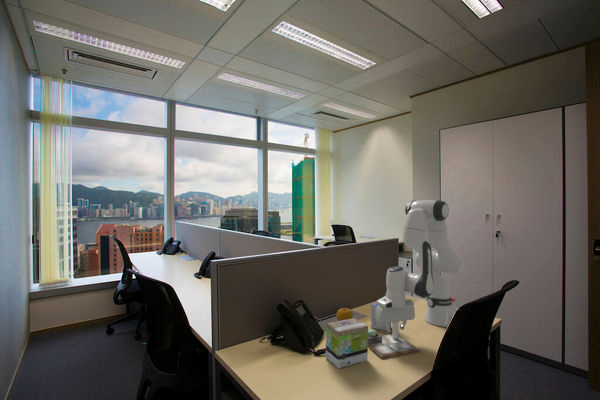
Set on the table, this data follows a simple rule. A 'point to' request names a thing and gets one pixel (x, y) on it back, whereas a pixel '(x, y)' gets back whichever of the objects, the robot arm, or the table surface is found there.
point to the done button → (371, 332)
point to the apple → (344, 314)
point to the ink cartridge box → (373, 320)
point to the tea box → (346, 342)
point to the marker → (395, 330)
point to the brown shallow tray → (390, 346)
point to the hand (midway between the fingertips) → (395, 330)
